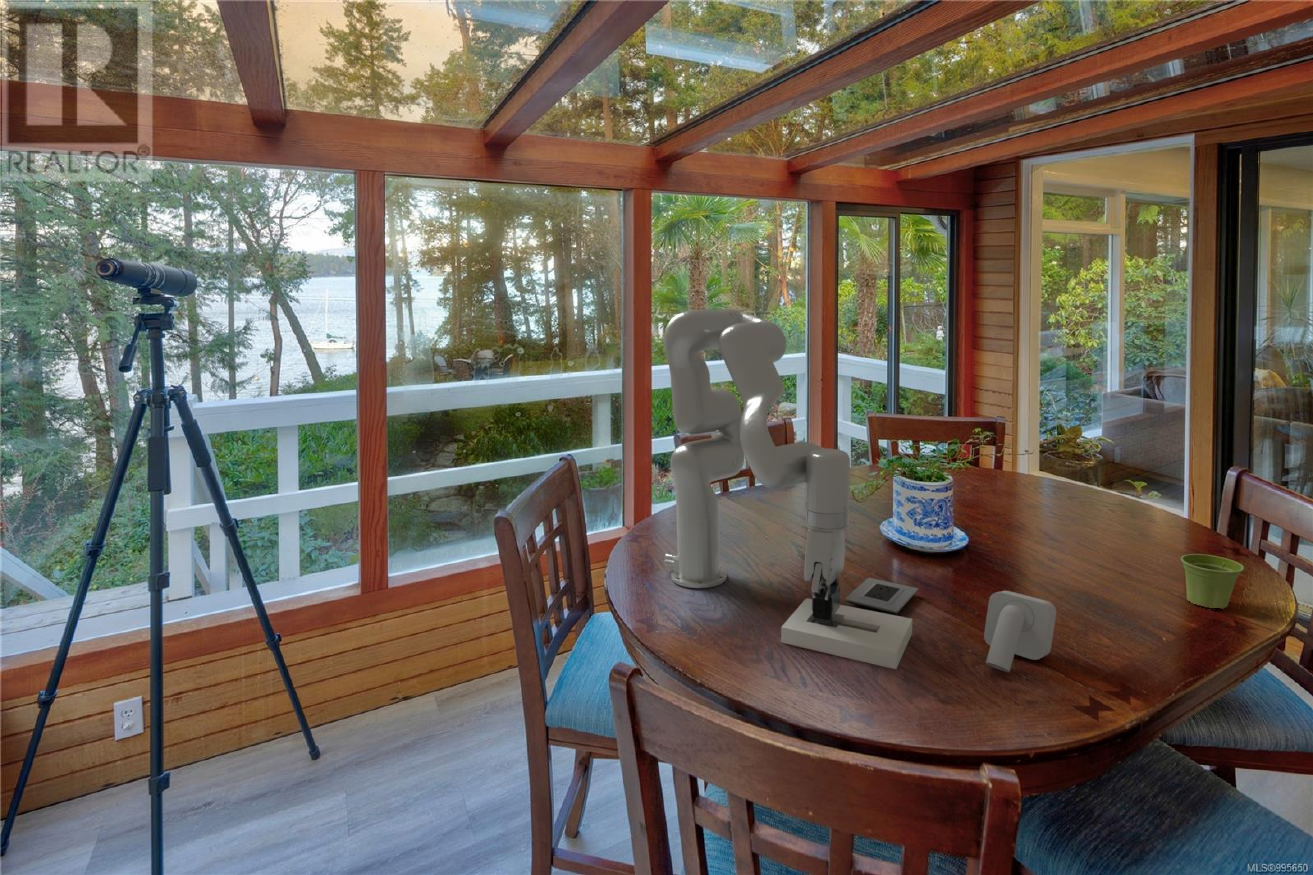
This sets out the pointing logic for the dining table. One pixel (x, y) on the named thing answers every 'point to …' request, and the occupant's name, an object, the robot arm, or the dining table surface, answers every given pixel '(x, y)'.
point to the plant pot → (1210, 579)
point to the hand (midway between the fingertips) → (825, 612)
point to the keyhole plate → (851, 634)
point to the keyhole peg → (834, 606)
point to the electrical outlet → (881, 595)
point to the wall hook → (1017, 628)
